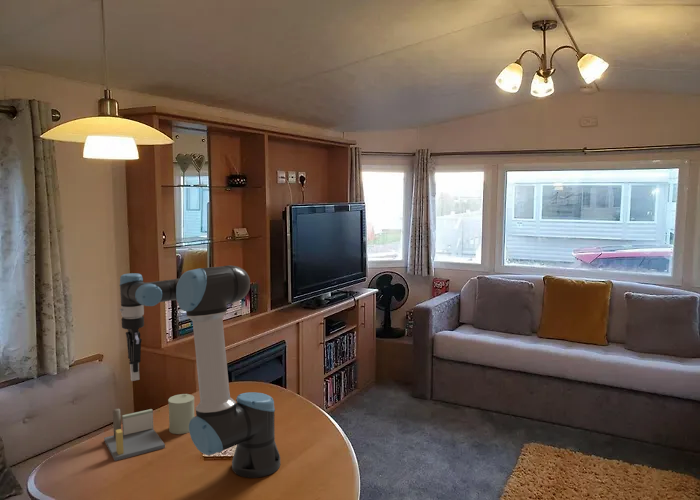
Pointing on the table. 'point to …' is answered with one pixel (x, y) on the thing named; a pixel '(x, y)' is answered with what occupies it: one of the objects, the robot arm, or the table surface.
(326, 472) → the table surface
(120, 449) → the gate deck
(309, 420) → the table surface
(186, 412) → the can
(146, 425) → the white framed panel
